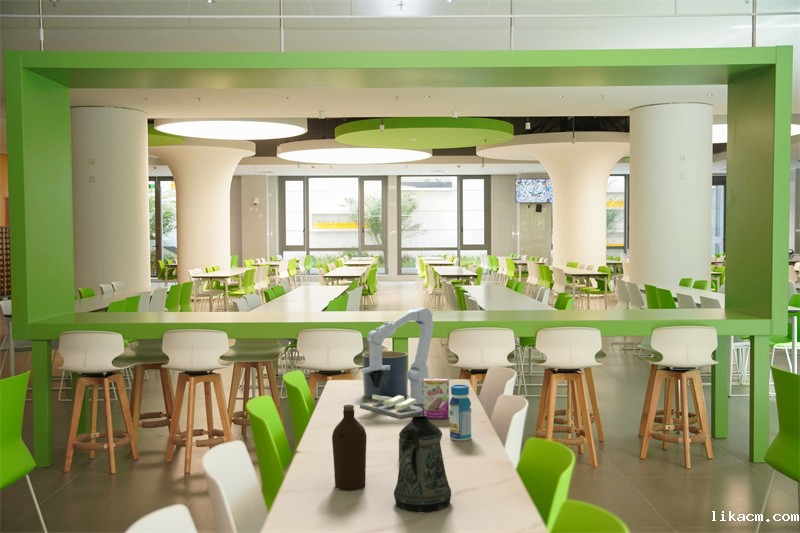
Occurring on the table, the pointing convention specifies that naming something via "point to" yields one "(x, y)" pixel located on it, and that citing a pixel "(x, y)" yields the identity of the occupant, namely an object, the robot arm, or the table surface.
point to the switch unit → (393, 409)
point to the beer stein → (421, 469)
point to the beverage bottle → (460, 413)
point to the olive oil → (349, 452)
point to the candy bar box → (436, 398)
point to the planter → (388, 375)
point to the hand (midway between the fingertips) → (376, 387)
